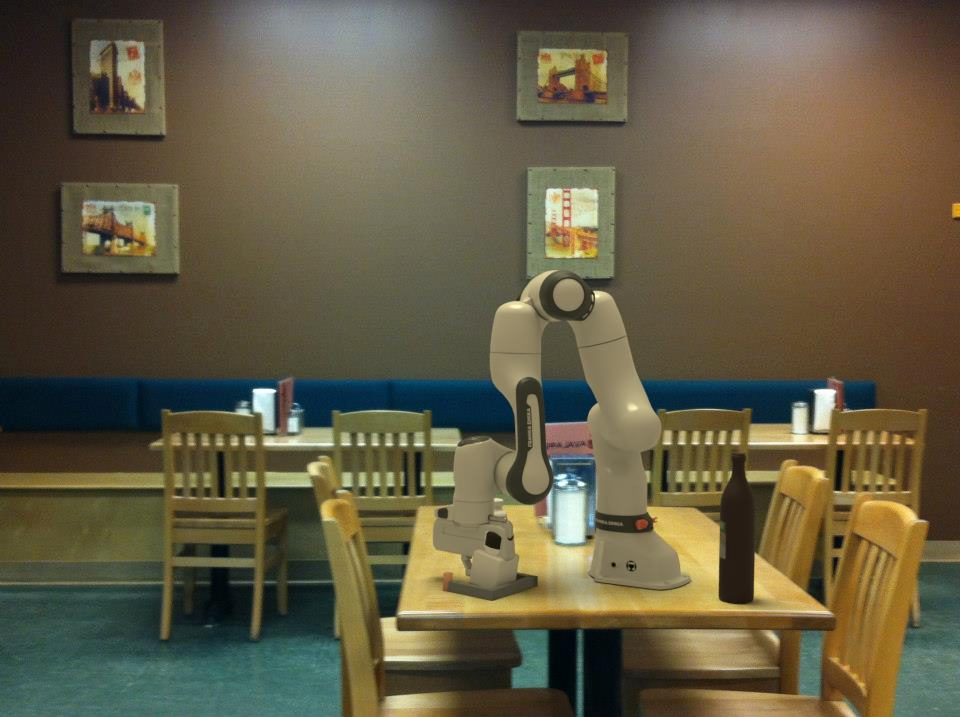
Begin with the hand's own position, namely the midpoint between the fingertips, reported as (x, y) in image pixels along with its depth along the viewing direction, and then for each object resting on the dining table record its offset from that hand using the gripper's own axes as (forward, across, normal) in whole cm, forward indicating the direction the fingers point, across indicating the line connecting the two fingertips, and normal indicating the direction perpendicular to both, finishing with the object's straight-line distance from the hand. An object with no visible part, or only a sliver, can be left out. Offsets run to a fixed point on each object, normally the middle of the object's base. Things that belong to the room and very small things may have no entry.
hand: (473, 576), depth 232 cm
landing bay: (+2, -6, 0) cm, 6 cm away
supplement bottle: (+2, +16, -28) cm, 32 cm away
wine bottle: (+2, -49, -25) cm, 55 cm away
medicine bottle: (+1, -5, 0) cm, 5 cm away
